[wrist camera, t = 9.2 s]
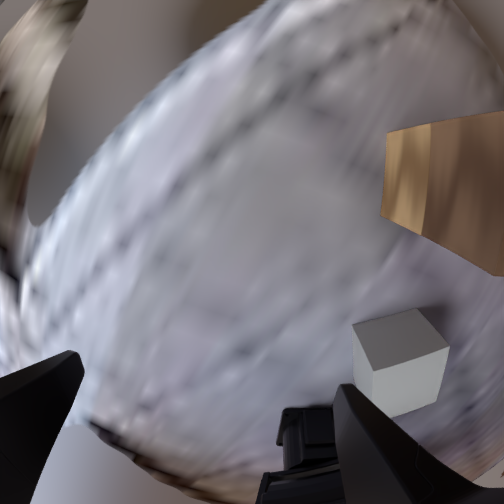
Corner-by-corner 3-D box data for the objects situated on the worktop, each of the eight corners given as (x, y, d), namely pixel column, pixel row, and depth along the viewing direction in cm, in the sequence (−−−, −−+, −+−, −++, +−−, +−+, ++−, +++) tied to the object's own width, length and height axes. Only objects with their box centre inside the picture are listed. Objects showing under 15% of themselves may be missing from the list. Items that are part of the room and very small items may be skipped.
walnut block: (490, 244, 13) (555, 278, 7) (421, 235, 13) (493, 276, 7) (500, 149, 11) (570, 155, 5) (431, 122, 11) (509, 110, 5)
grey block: (410, 360, 22) (435, 401, 16) (353, 376, 23) (369, 424, 17) (415, 307, 21) (449, 346, 15) (351, 324, 21) (373, 371, 15)
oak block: (443, 224, 18) (490, 244, 13) (380, 215, 19) (420, 235, 13) (450, 149, 17) (500, 150, 11) (386, 133, 17) (430, 123, 11)
